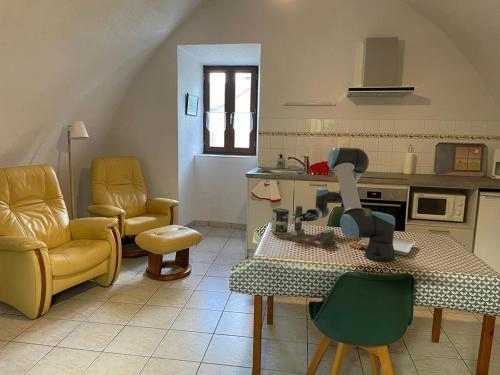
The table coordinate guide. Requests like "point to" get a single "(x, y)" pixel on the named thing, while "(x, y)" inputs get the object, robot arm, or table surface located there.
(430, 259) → the table surface
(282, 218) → the coffee can
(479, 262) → the table surface
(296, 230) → the press carriage
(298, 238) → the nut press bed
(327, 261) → the table surface
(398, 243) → the square plate
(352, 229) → the robot arm
